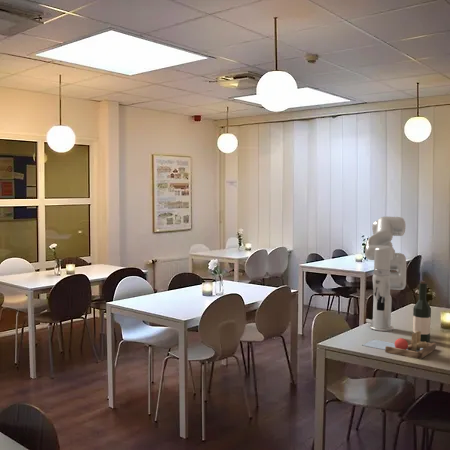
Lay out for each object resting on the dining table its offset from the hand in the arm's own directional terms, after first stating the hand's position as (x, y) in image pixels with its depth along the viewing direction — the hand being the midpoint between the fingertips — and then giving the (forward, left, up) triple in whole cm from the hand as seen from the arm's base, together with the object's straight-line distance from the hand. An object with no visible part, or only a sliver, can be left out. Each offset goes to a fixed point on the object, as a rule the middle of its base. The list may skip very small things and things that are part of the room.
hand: (380, 310), depth 264 cm
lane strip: (+8, 0, -17) cm, 19 cm away
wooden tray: (+15, 0, -17) cm, 23 cm away
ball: (+12, -4, -14) cm, 19 cm away
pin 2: (+18, +3, -17) cm, 25 cm away
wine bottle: (+13, +22, -17) cm, 31 cm away
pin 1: (+18, -2, -17) cm, 25 cm away
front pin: (+14, 0, -16) cm, 21 cm away
